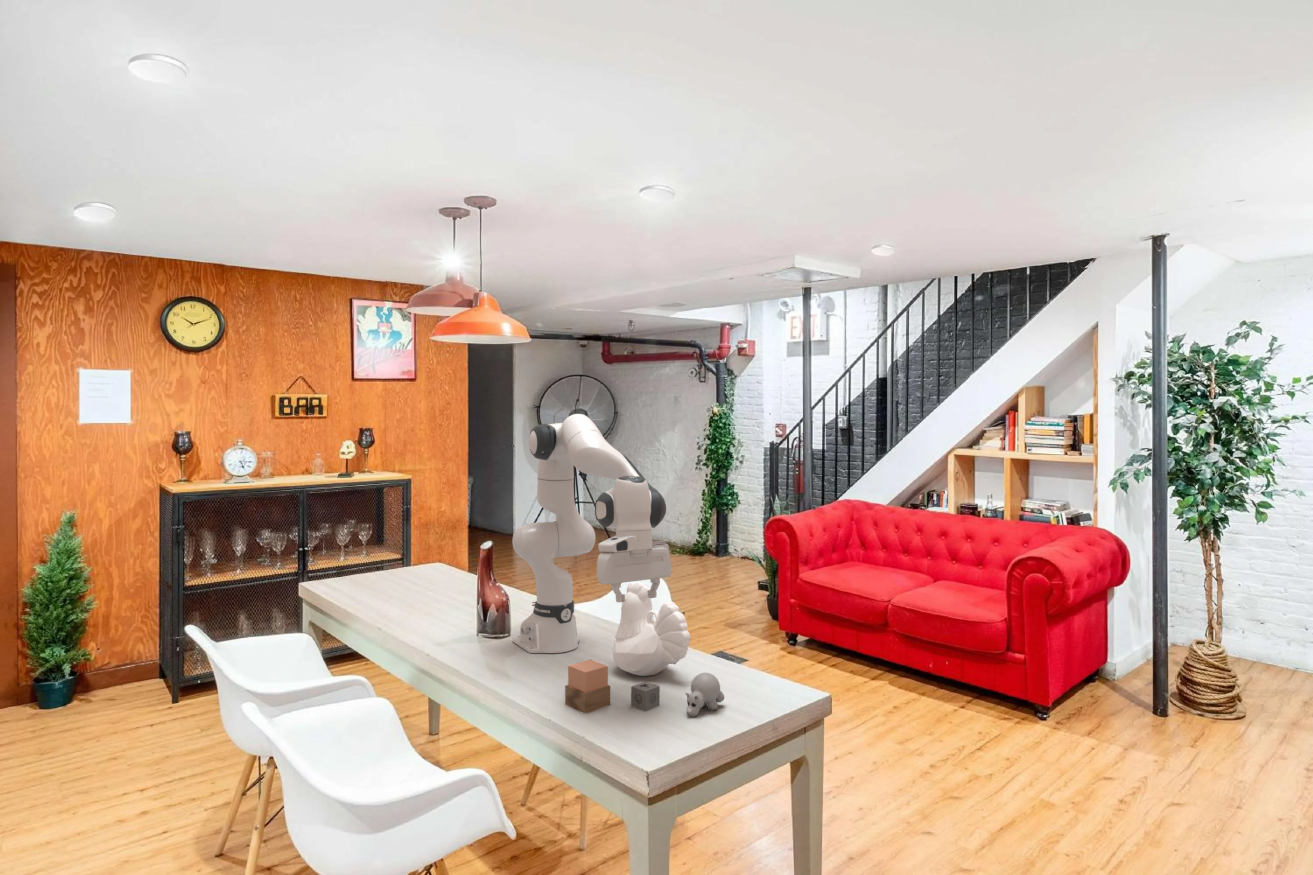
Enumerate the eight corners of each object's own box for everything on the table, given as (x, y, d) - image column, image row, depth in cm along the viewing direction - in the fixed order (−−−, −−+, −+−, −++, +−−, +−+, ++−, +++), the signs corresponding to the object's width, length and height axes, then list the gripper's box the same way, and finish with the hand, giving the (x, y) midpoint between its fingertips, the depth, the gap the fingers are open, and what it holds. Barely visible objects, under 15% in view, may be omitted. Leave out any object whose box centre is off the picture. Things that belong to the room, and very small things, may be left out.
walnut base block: (565, 705, 190) (565, 685, 190) (590, 696, 196) (590, 677, 196) (585, 714, 184) (584, 693, 184) (610, 705, 190) (610, 685, 190)
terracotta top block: (568, 685, 190) (568, 665, 190) (590, 678, 195) (590, 659, 195) (585, 692, 185) (585, 672, 185) (607, 685, 190) (607, 665, 190)
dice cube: (645, 700, 193) (645, 681, 193) (659, 705, 190) (659, 686, 189) (631, 706, 189) (631, 686, 189) (645, 711, 186) (645, 691, 186)
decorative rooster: (602, 668, 217) (602, 581, 217) (648, 657, 226) (648, 574, 226) (652, 694, 197) (652, 599, 196) (700, 682, 206) (700, 590, 205)
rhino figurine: (679, 722, 186) (671, 694, 183) (706, 691, 194) (698, 663, 191) (703, 730, 181) (695, 701, 178) (729, 697, 189) (722, 669, 187)
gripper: (660, 539, 195) (662, 594, 193) (592, 544, 182) (594, 603, 181) (675, 539, 190) (678, 596, 188) (606, 545, 177) (609, 605, 176)
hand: (636, 599), depth 185 cm, fingers open, 8 cm apart
